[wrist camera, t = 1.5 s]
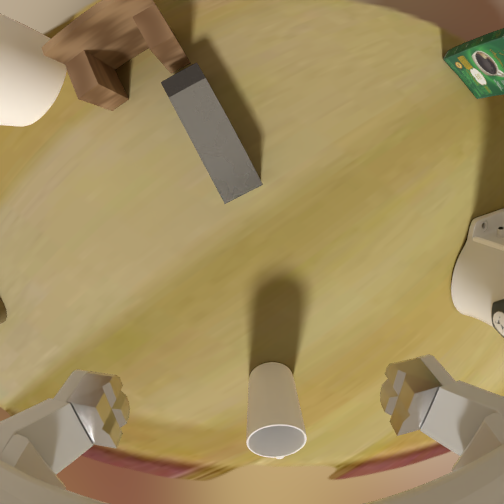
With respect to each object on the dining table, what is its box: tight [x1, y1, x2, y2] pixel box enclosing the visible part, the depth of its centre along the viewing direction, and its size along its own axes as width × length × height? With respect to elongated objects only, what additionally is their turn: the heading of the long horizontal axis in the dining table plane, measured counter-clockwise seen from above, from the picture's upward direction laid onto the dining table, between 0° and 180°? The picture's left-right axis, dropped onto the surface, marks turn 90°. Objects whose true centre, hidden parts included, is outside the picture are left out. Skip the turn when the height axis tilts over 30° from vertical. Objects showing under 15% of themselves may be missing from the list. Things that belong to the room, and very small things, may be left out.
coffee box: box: [444, 28, 504, 99], centre depth 21 cm, size 8×3×13 cm, turn 54°
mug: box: [247, 362, 307, 459], centre depth 34 cm, size 10×7×12 cm, turn 8°
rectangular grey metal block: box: [161, 63, 263, 204], centre depth 28 cm, size 4×14×5 cm, turn 27°
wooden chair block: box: [41, 0, 190, 111], centre depth 22 cm, size 11×6×12 cm, turn 117°
